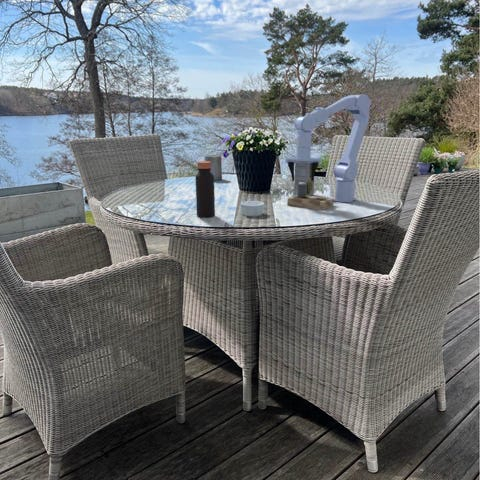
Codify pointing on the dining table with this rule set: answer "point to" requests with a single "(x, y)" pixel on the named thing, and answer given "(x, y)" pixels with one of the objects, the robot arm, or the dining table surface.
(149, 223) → the dining table surface
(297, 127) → the robot arm
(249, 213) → the ramekin
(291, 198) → the socket block
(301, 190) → the grey rounded cylinder
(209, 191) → the bottle
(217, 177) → the pillar candle
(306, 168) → the coffee box
